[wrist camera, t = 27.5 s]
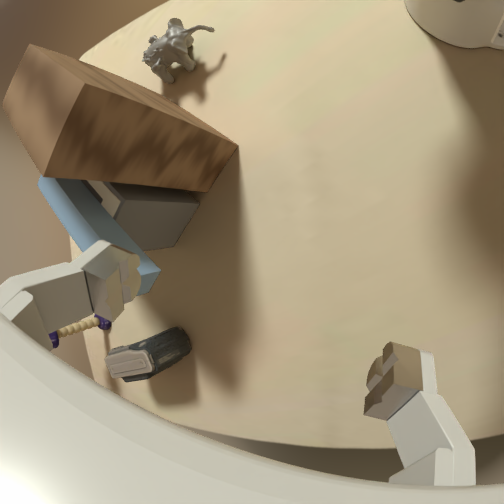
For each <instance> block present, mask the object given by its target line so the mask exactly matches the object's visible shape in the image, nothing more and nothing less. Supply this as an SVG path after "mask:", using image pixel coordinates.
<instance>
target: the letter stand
mask: <svg viewBox="0 0 504 504" xmlns="http://www.w3.org/2000/svg"><path fill="white" fill-rule="evenodd" d="M81 181H82V182H83V184H84V185H85V186H86V187H87V188H88V190H89V191H90V192H91V193H92V194H93V195H94V197H95V198H96V199H97V200H98V201H99V203H100V204H101V205H102V206H103V207H104V208H105V209H106V211H107V212H108V213H109V214H110V215H111V216H112V218H113V219H114V220H115V221H116V222H117V223H118V224H119V225H120V227H121V228H122V229H123V230H124V231H125V232H126V233H127V234H128V235H129V237H130V238H131V239H132V240H133V241H134V242H135V243H136V244H137V245H138V246H139V247H140V249H141V250H142V251H148V250H155V249H162V248H169V247H174V245H175V243H176V242H177V240H178V238H179V237H180V235H181V234H182V232H183V230H184V229H185V227H186V225H187V224H188V222H189V220H190V219H191V217H192V216H193V214H194V212H195V211H196V209H197V208H198V206H199V205H200V204H199V203H198V202H197V201H196V200H195V199H194V198H193V197H191V196H190V195H189V194H188V193H187V192H186V191H184V190H183V189H175V188H166V187H157V186H148V185H138V184H128V183H117V182H106V181H93V180H81Z"/></svg>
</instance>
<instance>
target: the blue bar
mask: <svg viewBox="0 0 504 504" xmlns="http://www.w3.org/2000/svg"><path fill="white" fill-rule="evenodd" d="M38 187H39V189H40V190H41V192H42V193H43V195H44V197H45V198H46V200H47V201H48V203H49V204H50V206H51V207H52V209H53V211H54V212H55V213H56V215H57V217H58V218H59V220H60V221H61V222H62V224H63V225H64V227H65V228H66V230H67V231H68V233H69V234H70V236H71V237H72V238H73V240H74V241H75V243H76V244H77V245H78V247H79V248H80V249H81V251H82V252H84V251H86V250H87V249H88V248H89V247H91V246H92V245H93V244H95V243H96V242H97V241H98V240H105V241H107V242H109V243H111V244H115V245H117V246H119V247H121V248H124V249H126V250H128V251H131V252H133V253H135V254H137V255H138V256H139V257H140V266H139V267H138V268H137V270H138V272H139V273H140V275H141V285H140V289H139V291H138V293H137V295H136V296H139V295H142V294H145V293H148V292H149V291H150V289H151V287H152V285H153V284H154V282H155V280H156V278H157V277H158V275H159V273H160V272H161V270H160V269H159V268H158V267H157V266H156V265H155V263H154V262H153V261H152V260H151V259H150V258H149V257H148V256H147V255H146V254H145V253H144V252H143V251H142V250H141V249H140V247H139V246H138V245H137V244H136V243H135V242H134V241H133V240H132V239H131V238H130V237H129V235H128V234H127V233H126V232H125V231H124V230H123V229H122V228H121V227H120V225H119V224H118V223H117V222H116V221H115V220H114V219H113V218H112V216H111V215H110V214H109V213H108V212H107V211H106V209H105V208H104V207H103V206H102V205H101V204H100V203H99V201H98V200H97V199H96V198H95V197H94V195H93V194H92V193H91V192H90V191H89V190H88V188H87V187H86V186H85V185H84V184H83V182H82V181H81V180H80V179H66V178H50V177H43V176H42V175H41V176H40V179H39V182H38Z"/></svg>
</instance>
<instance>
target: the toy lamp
mask: <svg viewBox="0 0 504 504" xmlns="http://www.w3.org/2000/svg"><path fill="white" fill-rule="evenodd" d="M110 325H111V321H109V320H107V319H105V318H103V317H101V316H99V315H97V314H95V316H94V318H91V319H87V320H85V321H80V322H79V323H74V324H72V325H68V326H66V327H63V328H61V329H59V330H56V331H54V332H52V333H50V334H48V335H49V337H50V340H51V342H52V344H53V348H57V347H58V345H59V338H61V337H66V336H67V335H72V334H73V333H78V332H80V331H84V330H86V329H90V328H92V327H96V326H98V327H99V328H100V329H103V330H107V329H109V328H110Z"/></svg>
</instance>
